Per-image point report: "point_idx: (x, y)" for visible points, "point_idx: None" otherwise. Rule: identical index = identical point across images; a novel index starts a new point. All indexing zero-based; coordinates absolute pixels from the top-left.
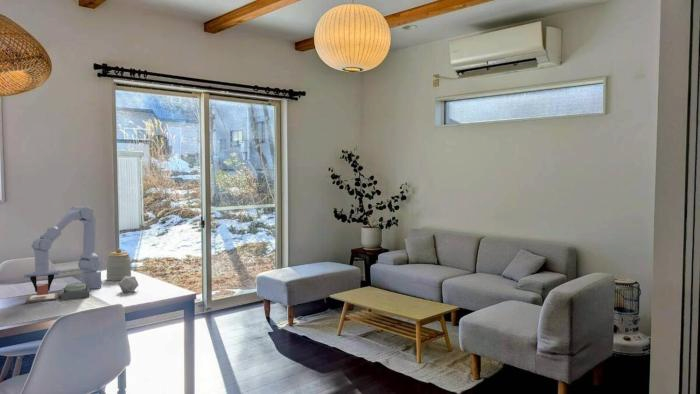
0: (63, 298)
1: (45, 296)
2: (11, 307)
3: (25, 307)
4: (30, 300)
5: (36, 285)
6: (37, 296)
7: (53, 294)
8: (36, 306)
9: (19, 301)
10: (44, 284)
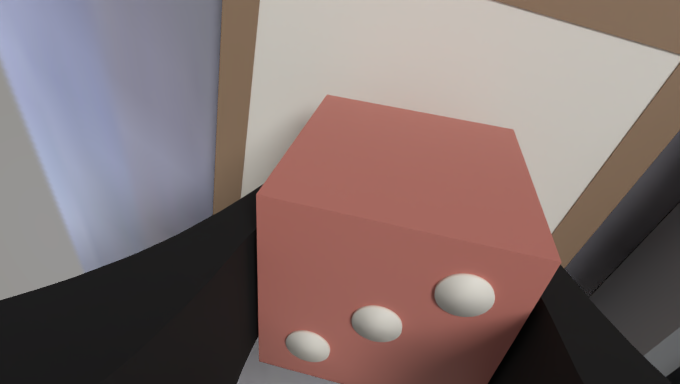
0: None
1: None
2: None
3: None
4: None
5: (244, 361)
6: (346, 91)
7: (603, 121)
8: (295, 375)
9: (143, 111)
10: (428, 332)
